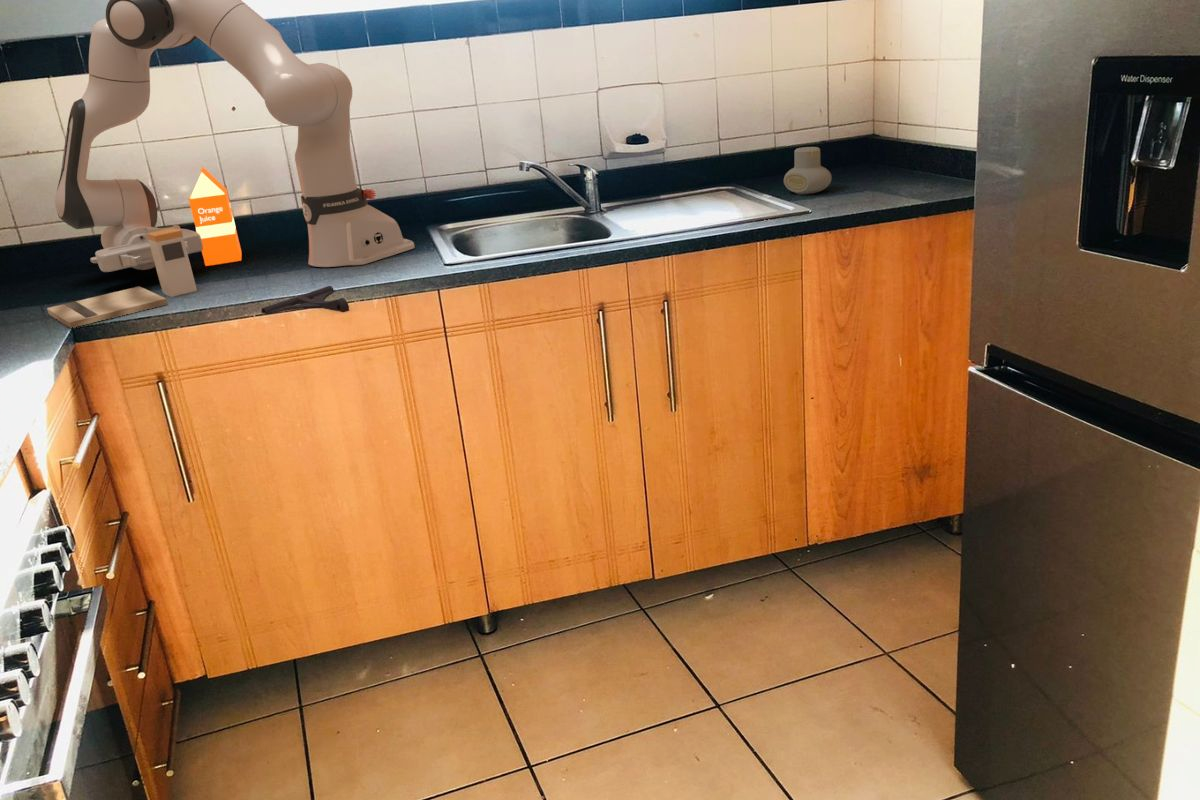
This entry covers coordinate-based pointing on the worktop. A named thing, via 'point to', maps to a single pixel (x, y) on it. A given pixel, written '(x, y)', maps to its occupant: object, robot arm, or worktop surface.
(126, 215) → the robot arm
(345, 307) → the bracket
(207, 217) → the orange juice
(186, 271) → the orange-capped beige carton
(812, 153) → the air freshener
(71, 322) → the subfloor panel
